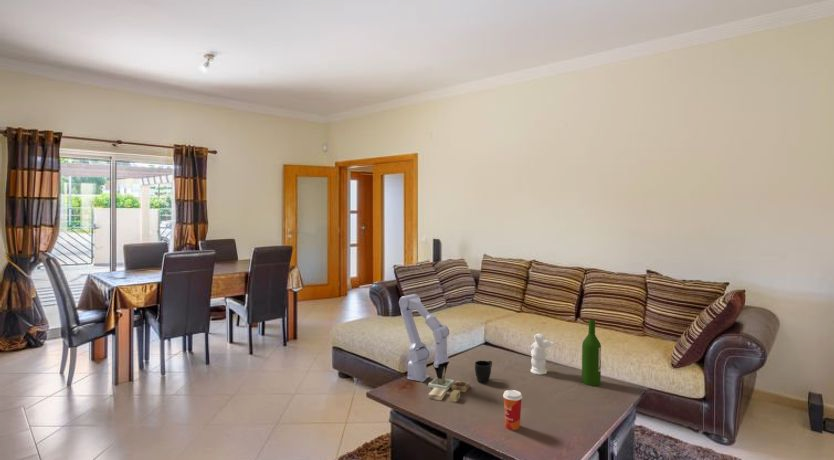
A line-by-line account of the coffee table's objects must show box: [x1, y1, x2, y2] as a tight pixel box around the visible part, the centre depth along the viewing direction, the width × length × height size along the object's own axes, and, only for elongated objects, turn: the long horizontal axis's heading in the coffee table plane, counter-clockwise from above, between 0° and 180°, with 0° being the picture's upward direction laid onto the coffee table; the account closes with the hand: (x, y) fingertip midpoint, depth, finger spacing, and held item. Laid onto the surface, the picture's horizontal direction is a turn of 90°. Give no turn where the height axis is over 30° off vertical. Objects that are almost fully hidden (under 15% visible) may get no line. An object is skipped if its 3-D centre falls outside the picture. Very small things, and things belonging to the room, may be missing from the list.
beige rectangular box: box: [428, 388, 447, 401], centre depth 204 cm, size 6×8×2 cm
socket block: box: [451, 380, 471, 393], centre depth 213 cm, size 7×7×2 cm
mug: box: [474, 360, 493, 384], centre depth 222 cm, size 8×12×10 cm
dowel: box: [438, 367, 446, 384], centre depth 216 cm, size 4×4×8 cm
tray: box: [427, 376, 455, 392], centre depth 216 cm, size 10×10×2 cm
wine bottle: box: [581, 318, 602, 387], centre depth 218 cm, size 9×9×32 cm
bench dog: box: [449, 390, 461, 403], centre depth 200 cm, size 3×5×4 cm, turn 155°
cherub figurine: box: [529, 333, 555, 376], centre depth 232 cm, size 12×12×22 cm
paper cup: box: [502, 389, 523, 431], centre depth 174 cm, size 8×8×14 cm
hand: (441, 377), depth 216 cm, fingers closed on dowel, 3 cm apart
